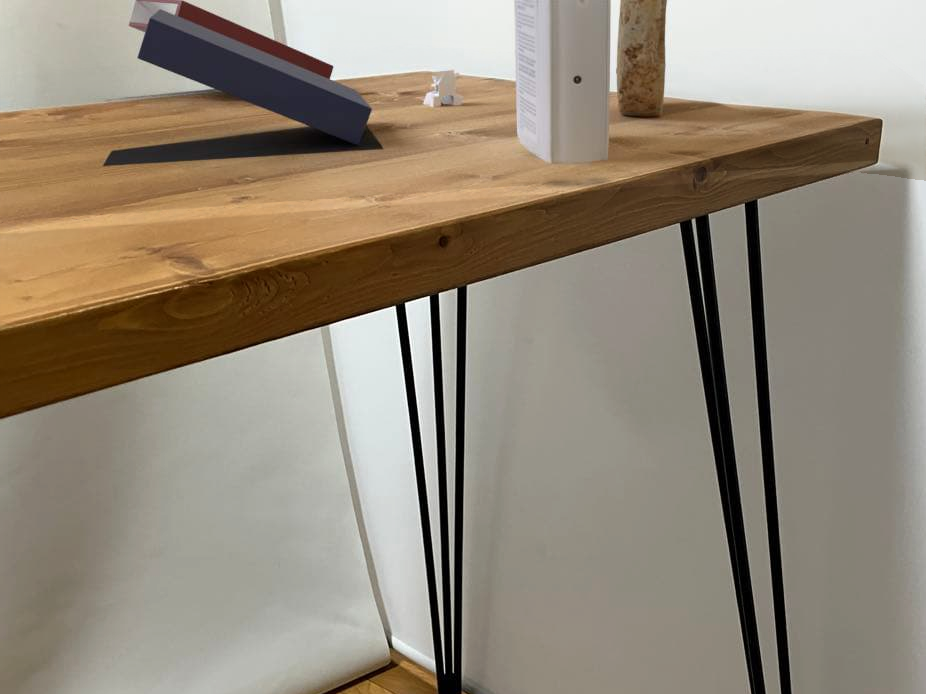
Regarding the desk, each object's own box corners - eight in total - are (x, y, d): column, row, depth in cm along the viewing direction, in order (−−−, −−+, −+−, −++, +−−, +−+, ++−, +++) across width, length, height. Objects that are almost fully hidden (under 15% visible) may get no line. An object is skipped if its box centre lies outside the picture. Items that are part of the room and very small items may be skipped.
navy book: (137, 58, 66) (149, 17, 66) (148, 44, 75) (159, 8, 75) (358, 145, 71) (372, 108, 71) (344, 123, 80) (356, 90, 80)
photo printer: (617, 169, 65) (620, -58, 61) (547, 174, 64) (543, -57, 60) (573, 141, 75) (572, -58, 70) (510, 145, 74) (505, -57, 69)
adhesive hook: (437, 114, 88) (435, 72, 86) (419, 110, 89) (417, 70, 88) (469, 110, 89) (467, 69, 88) (450, 106, 91) (448, 67, 90)
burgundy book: (173, 31, 86) (181, -1, 86) (127, 25, 94) (135, -4, 93) (325, 94, 96) (334, 66, 96) (273, 84, 103) (281, 58, 103)
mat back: (157, 122, 86) (156, 115, 86) (101, 105, 96) (100, 99, 95) (350, 100, 96) (349, 94, 96) (282, 87, 105) (281, 82, 105)
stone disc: (623, 108, 89) (624, -26, 85) (669, 108, 88) (673, -27, 84) (610, 129, 79) (611, -21, 75) (663, 129, 79) (666, -22, 75)
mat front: (103, 174, 67) (101, 166, 67) (122, 140, 78) (121, 133, 78) (385, 156, 71) (384, 149, 70) (363, 126, 82) (363, 119, 82)
